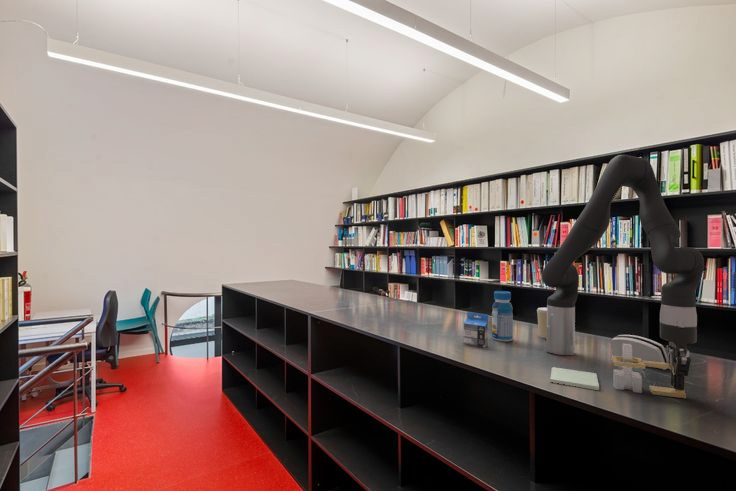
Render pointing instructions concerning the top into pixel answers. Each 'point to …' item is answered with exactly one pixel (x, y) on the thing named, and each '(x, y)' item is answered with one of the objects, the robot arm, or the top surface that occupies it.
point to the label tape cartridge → (476, 329)
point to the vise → (627, 374)
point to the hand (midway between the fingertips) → (677, 387)
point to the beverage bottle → (502, 316)
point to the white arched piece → (640, 348)
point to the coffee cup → (542, 322)
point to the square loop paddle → (642, 364)
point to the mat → (574, 378)
